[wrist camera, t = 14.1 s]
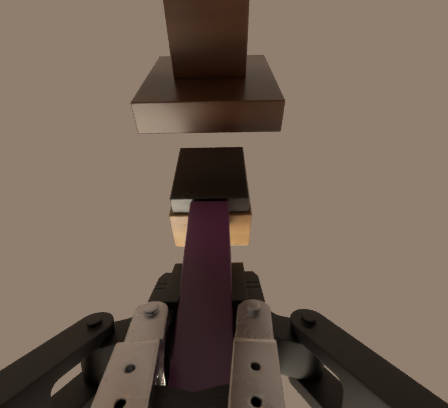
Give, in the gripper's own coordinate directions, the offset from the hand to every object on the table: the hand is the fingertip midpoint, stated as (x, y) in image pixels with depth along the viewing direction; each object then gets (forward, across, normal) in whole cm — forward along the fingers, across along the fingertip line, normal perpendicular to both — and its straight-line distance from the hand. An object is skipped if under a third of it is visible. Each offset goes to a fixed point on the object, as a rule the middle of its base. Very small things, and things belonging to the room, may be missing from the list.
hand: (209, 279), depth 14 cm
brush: (+1, 0, -4) cm, 4 cm away
